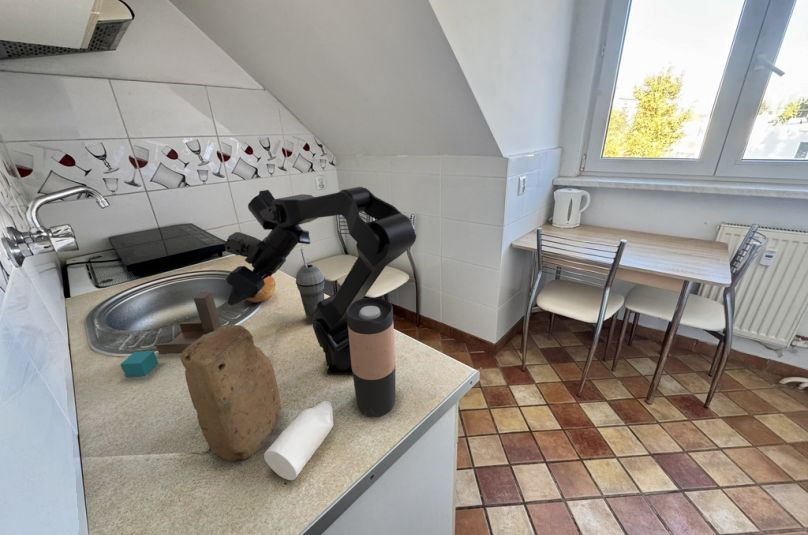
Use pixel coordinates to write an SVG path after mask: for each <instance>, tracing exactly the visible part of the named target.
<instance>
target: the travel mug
mask: <svg viewBox="0 0 808 535" xmlns="http://www.w3.org/2000/svg"><path fill="white" fill-rule="evenodd" d="M393 309H394V308H393V305H392V303H391V302H390V301H388V300H387V299H384V298H382V297H381V298H380V297H364V298H363V299H360V300H357V301H355V302H353V303H352V304H350V305H349V306H348V308H347V323H348V334H349V344H350V355H351V366H352V373H353V375H352V380H353V386H354V393H355V400H356V406H357V408H358V410H359V412H360V413H361V414H363V415H364V416H367V417H370V418H378V417H382V416H385V415H387V414H388V413H390V412H391V411H392V410H393V409H394V407H395V404H396V346H395V329H394V327H395V326H394V325H395V324H394V310H393Z"/></svg>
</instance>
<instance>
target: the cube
mask: <svg viewBox="0 0 808 535" xmlns="http://www.w3.org/2000/svg"><path fill="white" fill-rule="evenodd" d="M158 364H159V361H158V358H157V356H156V353H155V351H154V350H146V351H145V350H143V351H134V352H132V353H131V354H130V355H128V357H127V358H125V359H124V360H123V361H122V362H120V367H121V369H122V372H123V373H124V375H125V377H127V378H130V377H131V378H133V377H146V376H147V375H149V374H150V372H151V371H152V370H153V369H154V368H156V367H157V365H158Z"/></svg>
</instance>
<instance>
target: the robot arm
mask: <svg viewBox="0 0 808 535" xmlns="http://www.w3.org/2000/svg"><path fill="white" fill-rule="evenodd" d="M247 208H248V211H249V212H250V213H251V215H252V216H253V217H254V218H255V220H256V221H257V223H258V224H259V225H260V226H261V227H262V229H263V230H264V231H266V230H268V231H269V233H268V234H267V236H266V237H264V238H263V240H262V239H259V238H257V237H255V236H251V235H249V234H247V233H243V232H240V231H236V232H235V231H234V232H233V233H232V234H230V235H229V236H228V238H227V239H226V241H225V242H224V243H223V247H224V248H225V251H226V252H227V253H229V254H231V255H235V256H240V257H244V258H245V259H244V262H246V263H248V264H249V265H251V267H252V268H253V271H251V270H252V269H250V268H249V267H247V266H246V265H238V266H236V268H234V269H233V270H232V271H231V272H229V274H228V275H227V277H226V278H225V281H226V283H227V284H229V285H230V286H231V291H230V293H229V297H228V299H227V304H228V305H229V306H234V305H236V304H239V303H241V302H243V301H246V300H247V299H248V298H254V297H255V296H256V295H257V294H258V292H259V291H260V290H261V289H262V288H263V286H264V285H265V283H264V279H265V278H267V277H270V276H271V275H272V276H273V275H274V274H276V273H277V271H278V270H280V269H281V267H282V266H283V265H284V264H285V262H286V261H287V258H288V256H289V255H290V254H291V253H292V251H293V250H294V249H295V248H296V246H297V245H298V244H305V245H310V244H311V238H310V231H309V230H305V229H303V228H302V227H301V226H300V225H303V224H307V223H311V222H313V221H315V220H317V219H318V218H319V219H320V218H327V217H334V216H343V218H344V219H345V221H346V225H347V229H348V233H349V236H350V237H351V238H352V239H353V240H354V241H355V242H356V245H355V247H356V251H357V254H358V256H357V258H356V259H355V262H354V263H353V265H352V266H351V268H350V270H349V271H348V274H347V275H346V277H345V279H344V280H343V282H342V283H341V285H340V287H339V288H338V290H337V292H336V293H335V294H333V295H330V296H328V297H327V298H324V300H322V301H320V302H319V303H318V304H317V307H316V310H315V311H313V314H315V315H314V316H313V324H312V329H313V332H314V335H315V337H316V340H317V344H318V345H319V347H320V348H322V352H323V353H324V356H325V363H326V366H327V369H326V374H327V375H347V376H348V375H349V376H353V373H352V366H351V355H350V344H349V334H348V323H347V308H348V306H349V305H350V304H352V303H353V302H355V301H357V300H360V299H364V298H365V296H366V295H367V294H368V292H369V291H370V289H371V288H372V286H373V285H374V284H375V282H376V280H377V279H378V278H379V276H380V275H381V273H382V272H383V271H384V269H385V268H386V267H387V266H388V265H389V264H391V263H392V262H393V261H395V260H396V259H398V258H400V257H401V256H402V255H403V254H405V252H407V251H408V250H409V249H410V248H412V247H413V245H414V244H415V242H416V240H417V234H416V229H415V227H414V224H413V222H412V220H411V219H410V218H409V217H407V216H406V215H405V214H403V213H402V212H401V211H400V210H398V208H397V207H396V206H394V205H393V204H390V203H388V202H386V201H385V200H383V199H381V198H379V197H377V196H375V195H374V194H373V193H372V192H371V191H370V189H368V188H366V187H364V186H356V187H350V188H344V189H341V190H339V191H338V192H333V193H328V194H322V195H320V196H318V195H317V196H313V195H312V194H304V193H302V194H301V193H300V194H296V195H290V196H285V197H279V198H275V197H274V196H273V194H272V193H271V191H270V190H269V189H263V190H259V192H258V195H256V196H254V197H253V198H252V199H251V200H250V201H249V203H247ZM360 213H365V215H367V216H368V217H370V218H372V219H375V220H371V221H369V222H366V221H365V220H364V219H363V218H362V217H361V216H360Z"/></svg>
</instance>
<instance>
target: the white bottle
mask: <svg viewBox="0 0 808 535" xmlns="http://www.w3.org/2000/svg"><path fill="white" fill-rule="evenodd" d="M332 406H333V404H331V402H330V401H329V400H323V401H321V402H319V403H318V404H317V405H316V406H314V407H310V408H309V407H308V408H305V409H303V410H302V411H300V412H299V414H298V415H297V416H296V417H295V418H294V419H293V421H292V422H291V423H289V425H288V426H287V427H286V428H285V429H283V431H281V433H280V434H279V436H277V438H276V439H275V441H274V442H273V443H272V444H271V445H270V446H269V448H268V449H267V450H265V451H264V454H263V458H264V460H265V463H266V464H267V465H268V467H269V468H270V469H271V470H272V471H273V472H274V473H275V474H276V475H278V476H279V477H281V478H282V479H285V480H288V481H294V480H296V479H297V477H298V476H299V474H300V473H301V472H302V471H303V469H304V468H305V466H306V465H307V463H308V461H309V460H310V459H311V458H312V457H313V455H314V454H315V452H316V451H317V450H318V448H319V447H320V446H321V445H322V443H323V442H324V440H325V439H326V438H327V436H328V435H329V433H330V431H331V430H332V429H333V427H334V409H333V407H332Z"/></svg>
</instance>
